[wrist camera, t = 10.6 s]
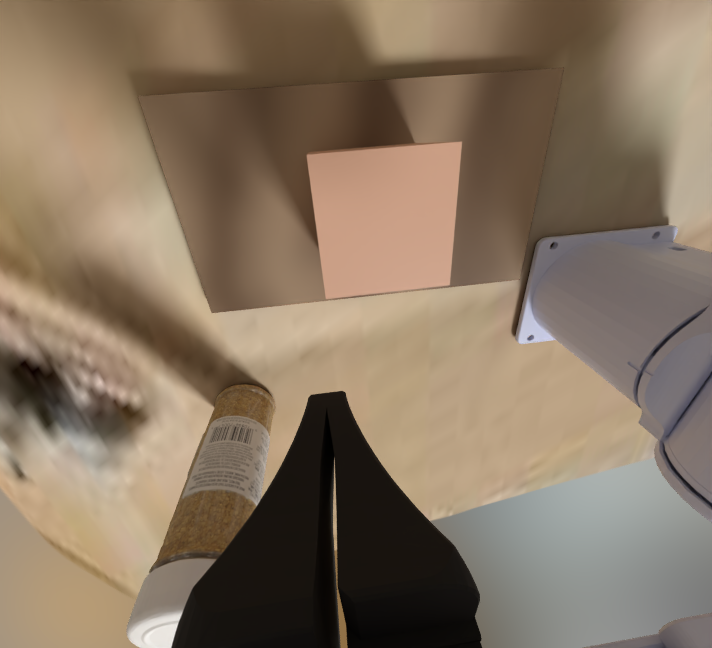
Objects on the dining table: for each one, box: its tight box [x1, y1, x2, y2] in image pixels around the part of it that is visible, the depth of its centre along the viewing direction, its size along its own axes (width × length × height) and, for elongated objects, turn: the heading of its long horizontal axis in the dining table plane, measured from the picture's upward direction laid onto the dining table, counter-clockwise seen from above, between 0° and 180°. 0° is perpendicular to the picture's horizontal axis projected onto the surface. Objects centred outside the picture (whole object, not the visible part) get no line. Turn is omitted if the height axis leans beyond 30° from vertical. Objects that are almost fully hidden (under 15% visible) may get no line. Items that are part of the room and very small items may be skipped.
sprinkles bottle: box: [127, 384, 276, 648], centre depth 19 cm, size 5×5×13 cm
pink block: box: [307, 142, 462, 299], centre depth 15 cm, size 5×5×6 cm
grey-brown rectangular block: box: [138, 68, 564, 313], centre depth 15 cm, size 20×11×6 cm, turn 94°
